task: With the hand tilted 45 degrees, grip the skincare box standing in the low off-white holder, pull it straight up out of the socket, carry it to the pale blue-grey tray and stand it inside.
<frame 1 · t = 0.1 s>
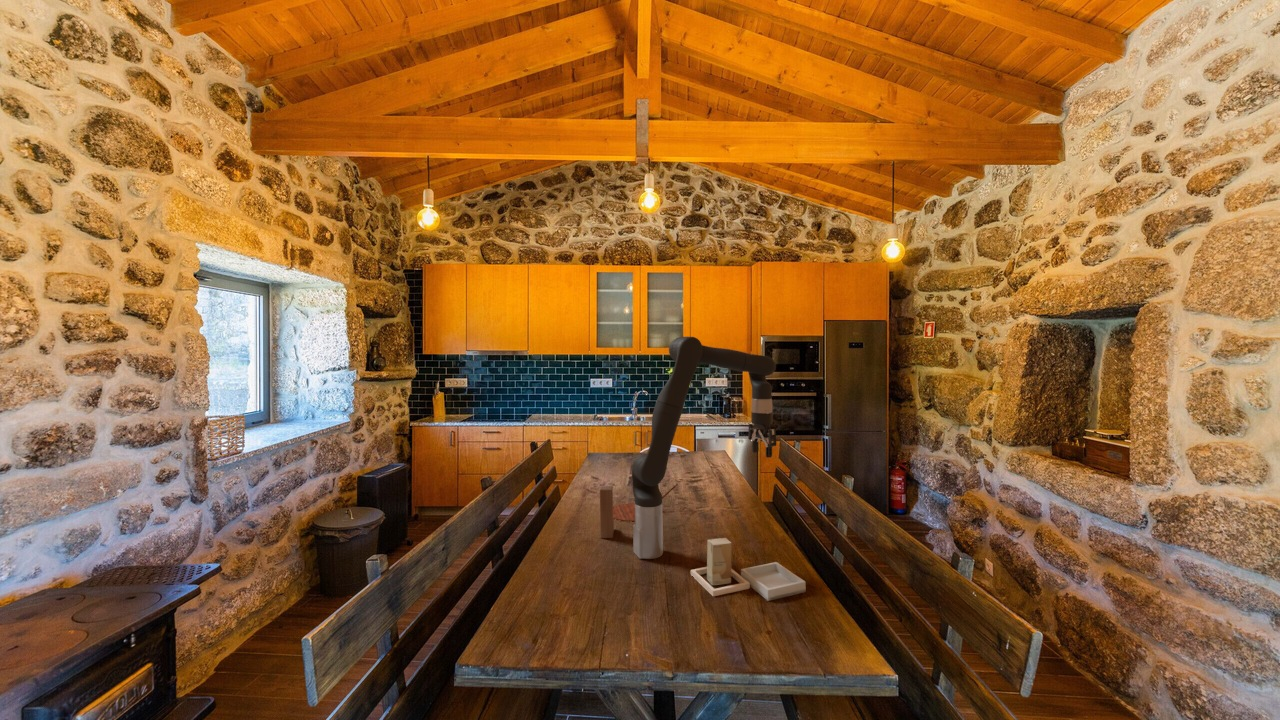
hand: (761, 454, 183), 29 cm above the table, tool pointing down, fingers open, 8 cm apart
skincare box: (719, 582, 149), resting in holder
tray: (772, 585, 146), on the table
holder: (719, 581, 149), on the table
incense holder: (643, 513, 210), on the table
wooden block: (607, 534, 186), on the table
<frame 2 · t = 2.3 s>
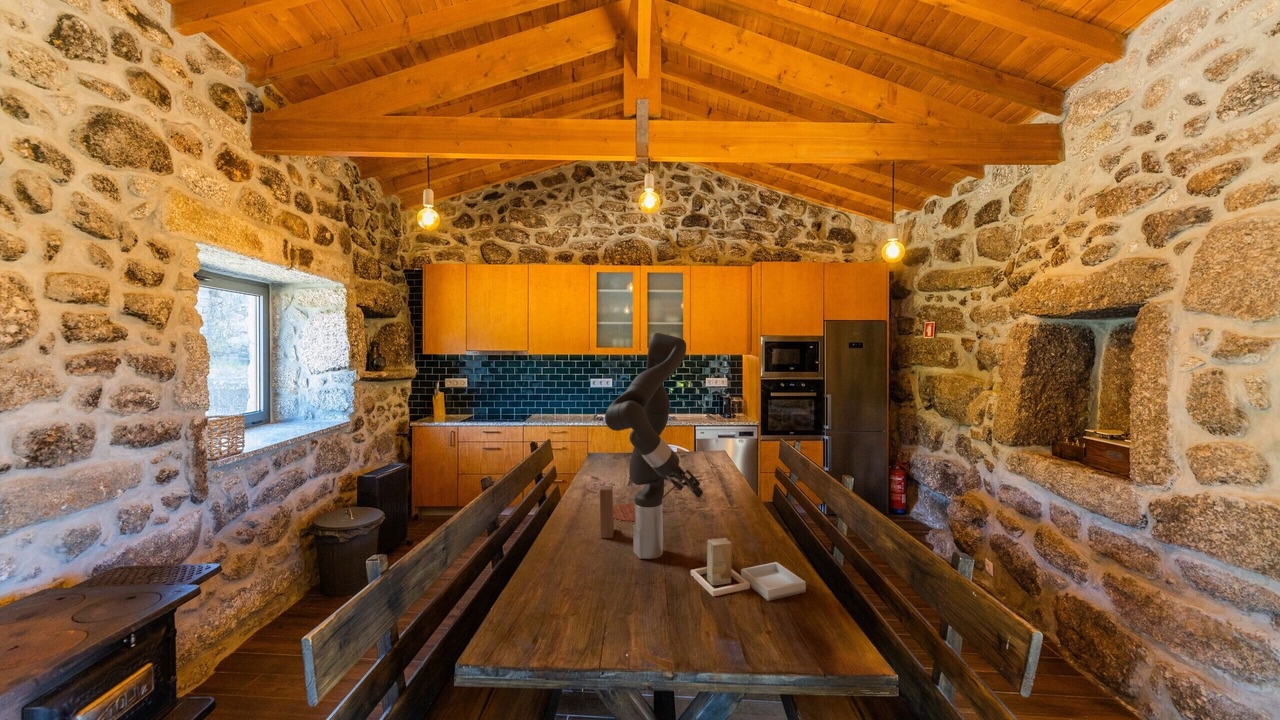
hand: (691, 491, 144), 28 cm above the table, tool tilted 40°, fingers open, 8 cm apart
nothing on the table moved.
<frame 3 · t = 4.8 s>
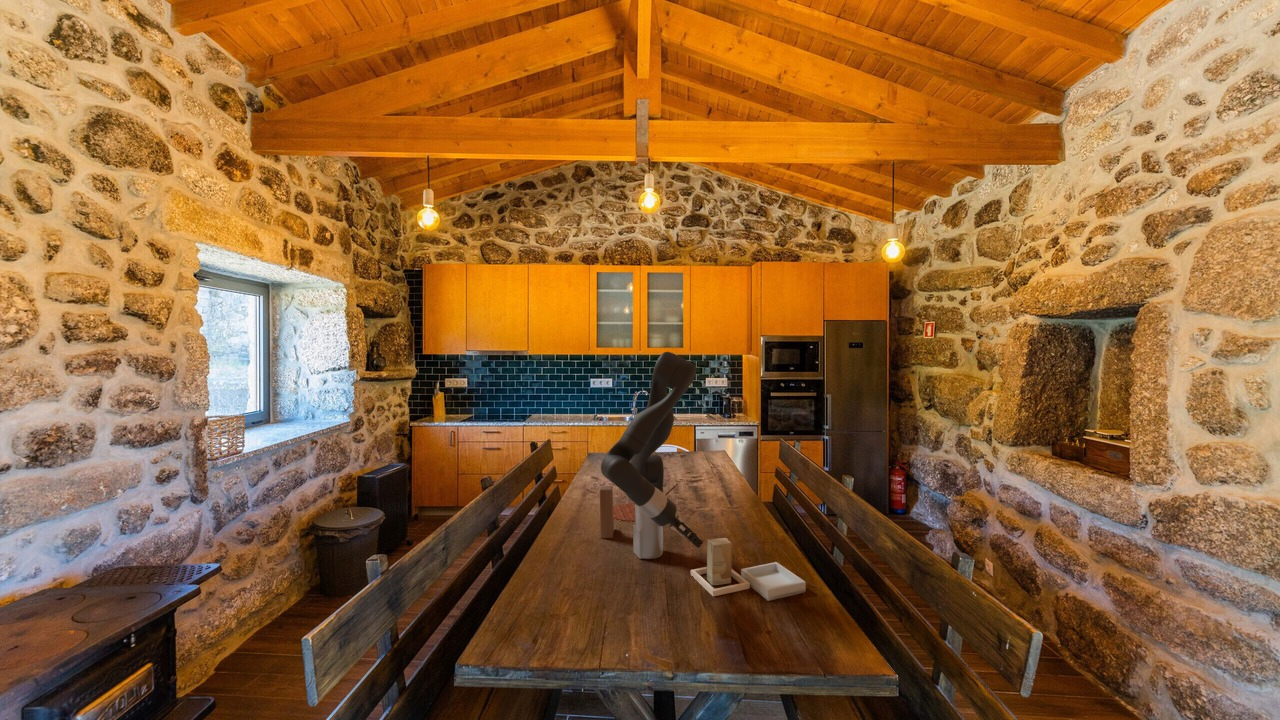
hand: (693, 539, 145), 14 cm above the table, tool tilted 45°, fingers open, 8 cm apart
nothing on the table moved.
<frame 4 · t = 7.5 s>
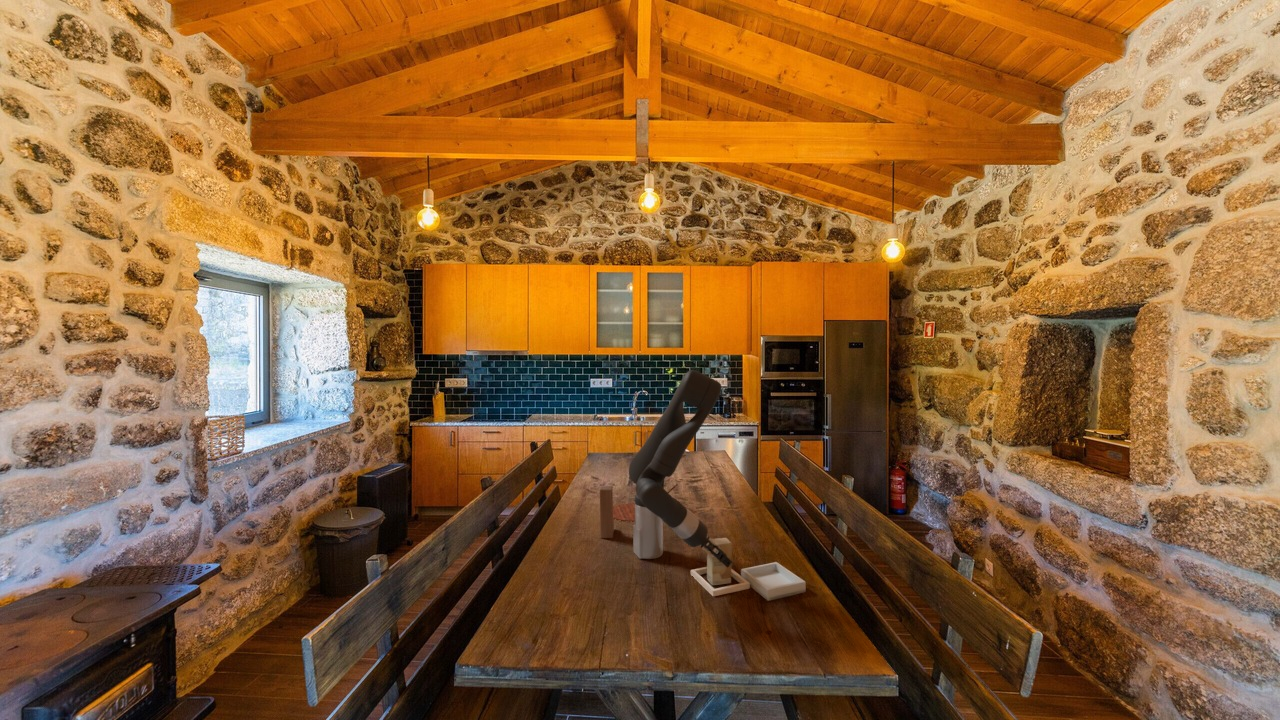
hand: (724, 560, 149), 6 cm above the table, tool tilted 45°, fingers closed on skincare box, 4 cm apart
skincare box: (719, 582, 149), resting in holder, touching gripper
everything else where it was.
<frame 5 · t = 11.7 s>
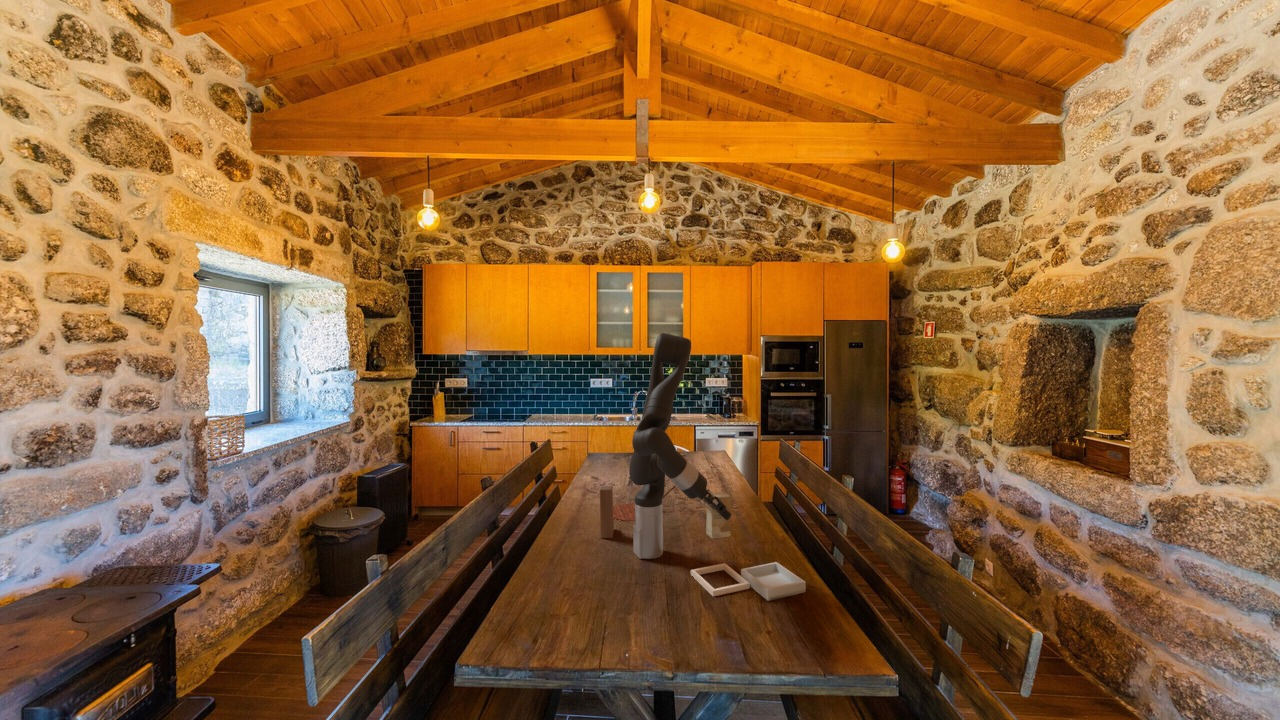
hand: (724, 514, 148), 20 cm above the table, tool tilted 45°, fingers closed on skincare box, 4 cm apart
skincare box: (718, 535, 148), point 14 cm above the table, touching gripper
everything else where it was.
when the fingers open (8 cm above the table, at t = 15.6 s): skincare box drops 1 cm, resting on tray.
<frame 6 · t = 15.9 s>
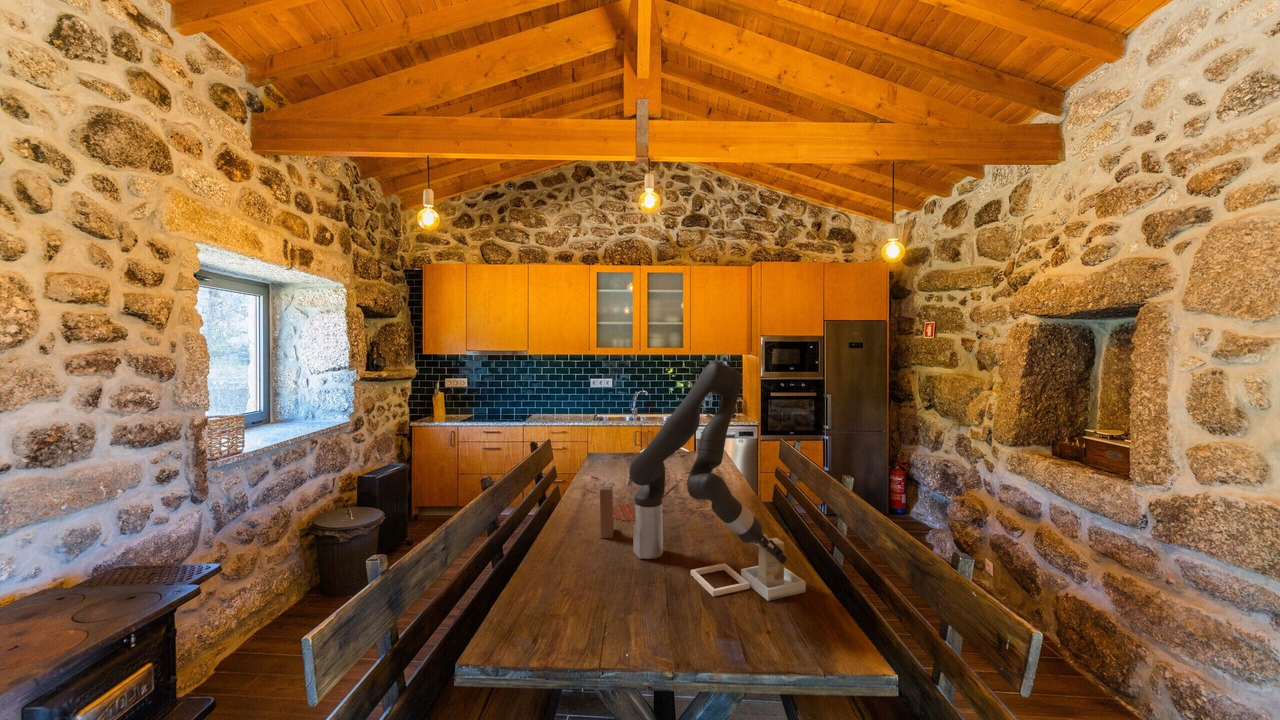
hand: (776, 556, 146), 8 cm above the table, tool tilted 45°, fingers open, 6 cm apart
skincare box: (771, 583, 146), point 1 cm above the table, touching tray
everything else where it was.
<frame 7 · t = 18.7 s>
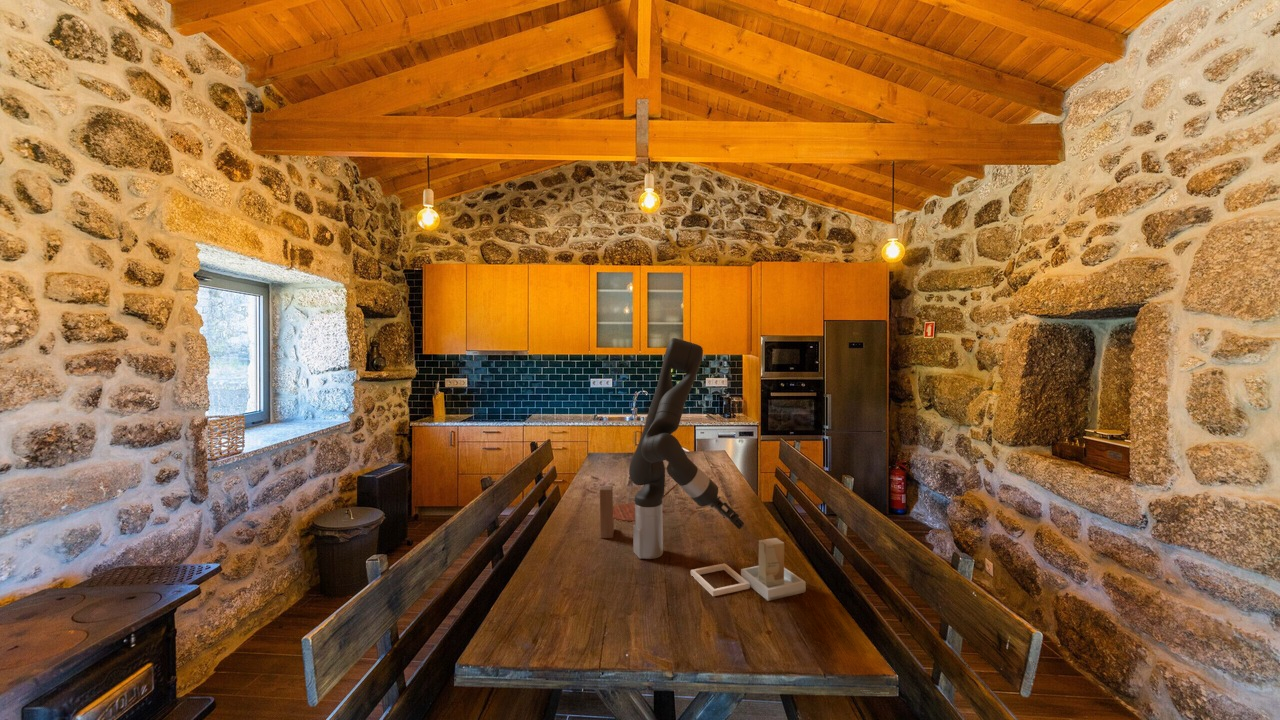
hand: (733, 520, 144), 20 cm above the table, tool tilted 45°, fingers open, 8 cm apart
nothing on the table moved.
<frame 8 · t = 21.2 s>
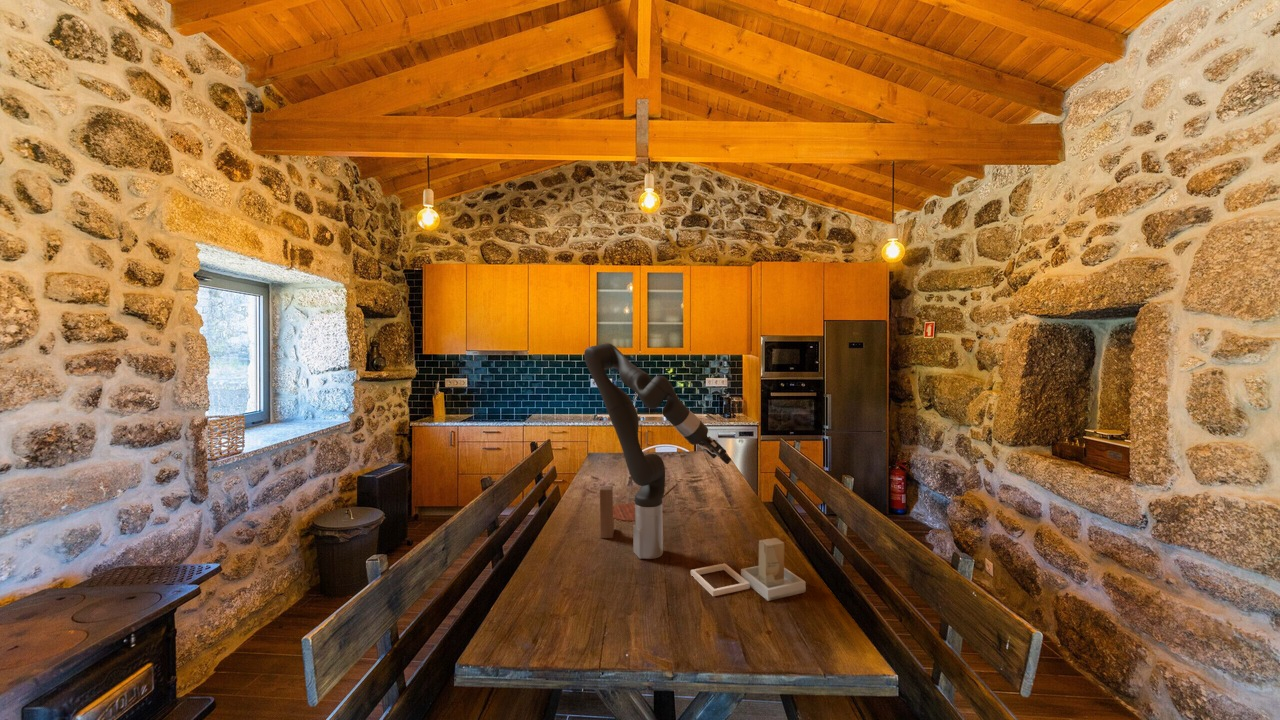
hand: (722, 459, 164), 33 cm above the table, tool tilted 45°, fingers open, 8 cm apart
nothing on the table moved.
at the end: skincare box inside the target area on the tray (0.3 cm from its centre), point 0.6 cm above the tray's base; skincare box tilted 0°; the gripper is holding nothing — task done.
